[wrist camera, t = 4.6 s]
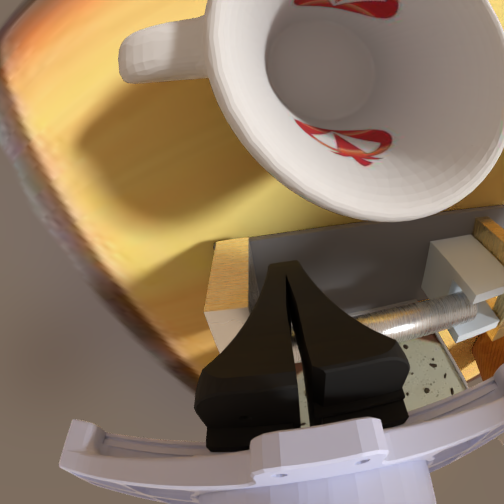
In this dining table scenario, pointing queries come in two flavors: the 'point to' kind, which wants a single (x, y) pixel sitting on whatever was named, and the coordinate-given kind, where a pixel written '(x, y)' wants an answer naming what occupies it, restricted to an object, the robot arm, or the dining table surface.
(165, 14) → the dining table surface
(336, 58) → the cup
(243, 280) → the shaft
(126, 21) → the dining table surface
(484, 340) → the disposable coffee cup
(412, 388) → the food container
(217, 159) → the dining table surface
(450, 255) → the bearing block
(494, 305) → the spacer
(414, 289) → the mat
